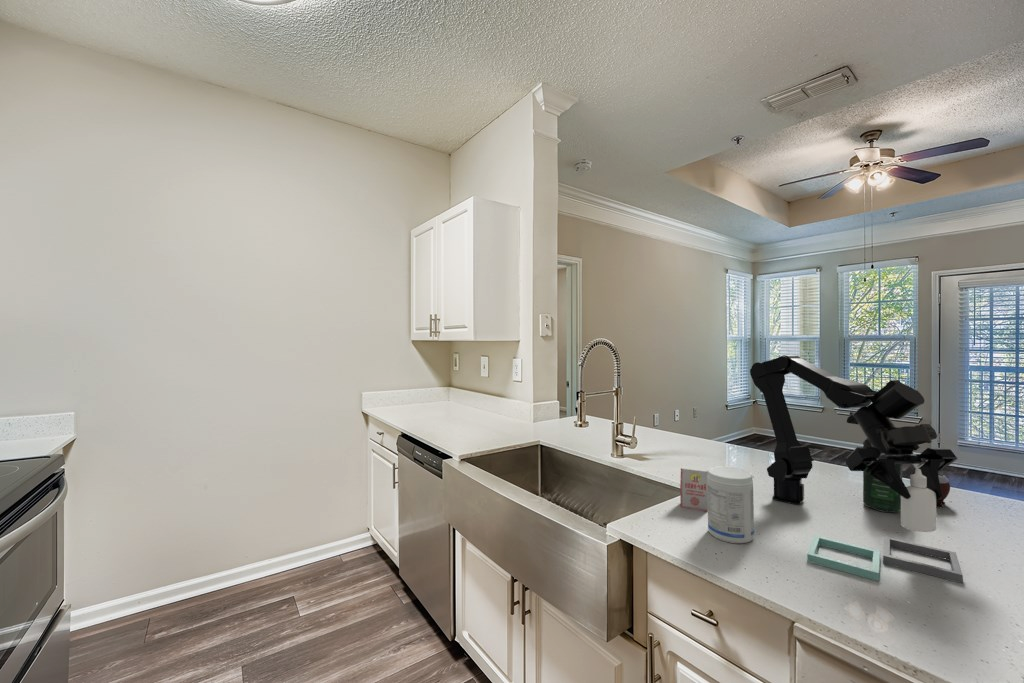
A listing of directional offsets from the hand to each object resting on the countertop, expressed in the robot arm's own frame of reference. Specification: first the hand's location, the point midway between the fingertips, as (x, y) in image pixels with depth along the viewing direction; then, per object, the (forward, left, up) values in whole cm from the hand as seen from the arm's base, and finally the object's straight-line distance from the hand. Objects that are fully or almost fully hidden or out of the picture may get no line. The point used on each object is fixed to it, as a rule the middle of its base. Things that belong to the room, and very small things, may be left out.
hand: (924, 498), depth 84 cm
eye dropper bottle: (-1, +1, -7) cm, 7 cm away
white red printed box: (-45, +1, -13) cm, 47 cm away
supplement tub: (-33, -11, -13) cm, 37 cm away
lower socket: (-12, -8, -13) cm, 20 cm away
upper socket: (-1, +1, -13) cm, 13 cm away
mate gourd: (+3, +44, -13) cm, 46 cm away
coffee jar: (-7, +33, -13) cm, 36 cm away
